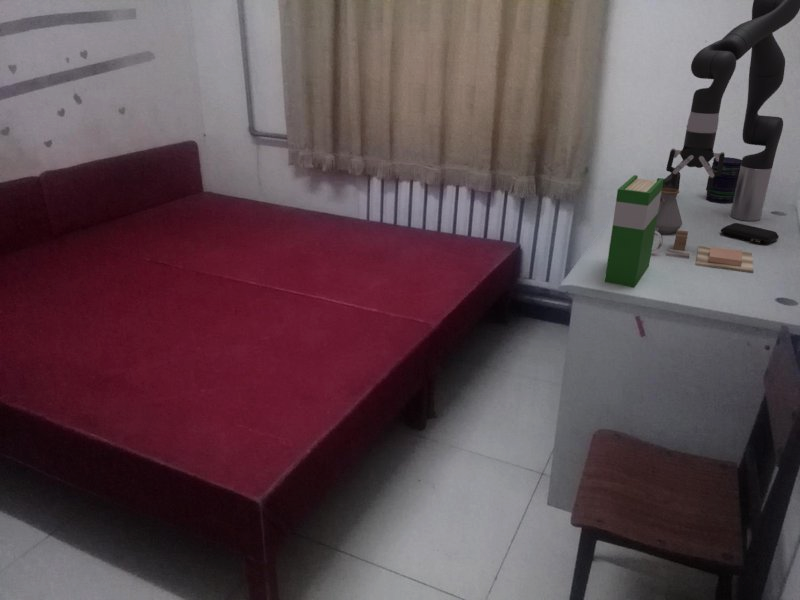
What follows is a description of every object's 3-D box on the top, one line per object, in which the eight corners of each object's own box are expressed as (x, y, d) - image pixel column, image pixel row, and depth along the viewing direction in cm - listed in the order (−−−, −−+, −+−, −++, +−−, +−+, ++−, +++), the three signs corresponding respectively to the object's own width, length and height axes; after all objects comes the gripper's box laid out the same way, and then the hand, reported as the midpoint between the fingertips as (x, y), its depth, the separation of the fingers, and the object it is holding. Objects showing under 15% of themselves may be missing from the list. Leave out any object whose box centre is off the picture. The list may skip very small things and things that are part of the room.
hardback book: (621, 261, 180) (634, 175, 171) (648, 266, 177) (663, 178, 167) (604, 281, 166) (617, 189, 157) (634, 287, 163) (649, 193, 153)
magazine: (674, 168, 248) (658, 157, 221) (683, 169, 246) (669, 159, 220) (663, 214, 250) (647, 209, 224) (672, 216, 249) (657, 211, 223)
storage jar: (700, 200, 241) (708, 159, 235) (712, 195, 247) (720, 155, 241) (727, 205, 235) (736, 163, 229) (739, 200, 241) (748, 160, 235)
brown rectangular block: (668, 245, 193) (671, 229, 191) (690, 248, 191) (693, 231, 189) (666, 255, 185) (669, 238, 183) (688, 258, 183) (692, 241, 181)
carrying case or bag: (715, 236, 202) (765, 248, 192) (717, 227, 201) (767, 238, 191) (730, 229, 209) (779, 241, 199) (732, 220, 208) (782, 231, 198)
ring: (660, 254, 186) (665, 227, 183) (659, 257, 183) (663, 230, 180) (635, 250, 189) (639, 223, 186) (633, 253, 187) (637, 226, 183)
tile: (710, 246, 185) (709, 256, 178) (741, 250, 182) (742, 260, 175) (709, 252, 186) (708, 262, 178) (740, 256, 183) (740, 266, 175)
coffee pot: (648, 222, 214) (656, 177, 208) (685, 229, 208) (693, 182, 202) (626, 238, 199) (634, 190, 193) (665, 246, 192) (674, 196, 186)
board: (698, 247, 191) (698, 245, 191) (751, 254, 186) (751, 252, 186) (695, 265, 178) (696, 262, 178) (753, 273, 173) (753, 270, 172)
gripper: (730, 129, 177) (718, 188, 183) (674, 125, 182) (664, 183, 189) (730, 133, 170) (718, 194, 177) (672, 129, 176) (662, 188, 182)
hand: (690, 188), depth 183 cm, fingers open, 8 cm apart
